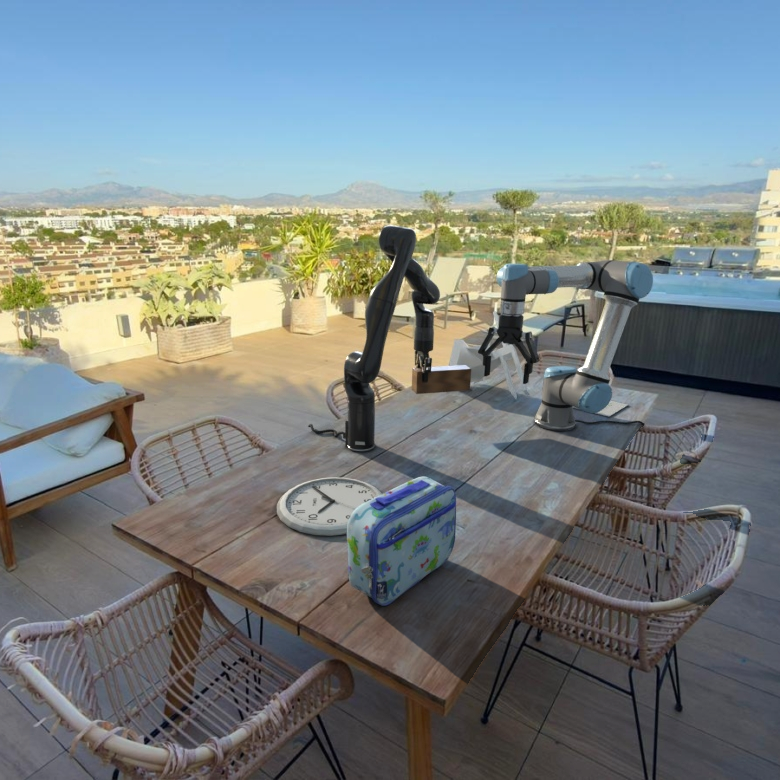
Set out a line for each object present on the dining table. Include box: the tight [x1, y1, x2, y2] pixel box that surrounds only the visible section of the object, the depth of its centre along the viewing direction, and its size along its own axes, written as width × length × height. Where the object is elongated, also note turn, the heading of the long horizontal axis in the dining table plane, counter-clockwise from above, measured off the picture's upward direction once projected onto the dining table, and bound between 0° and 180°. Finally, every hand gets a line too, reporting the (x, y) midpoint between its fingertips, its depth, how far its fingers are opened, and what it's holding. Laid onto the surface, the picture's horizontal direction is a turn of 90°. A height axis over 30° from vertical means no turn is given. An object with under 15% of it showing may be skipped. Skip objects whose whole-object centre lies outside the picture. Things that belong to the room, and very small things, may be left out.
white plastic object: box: [448, 310, 531, 400], centre depth 245 cm, size 37×45×31 cm
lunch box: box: [346, 475, 457, 607], centre depth 111 cm, size 26×11×21 cm, turn 134°
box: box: [411, 365, 472, 395], centre depth 207 cm, size 22×6×9 cm, turn 105°
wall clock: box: [276, 476, 384, 537], centre depth 142 cm, size 30×2×30 cm
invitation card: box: [573, 400, 629, 418], centre depth 226 cm, size 21×1×15 cm
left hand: (422, 379), depth 205 cm, fingers closed on box, 6 cm apart
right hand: (505, 379), depth 170 cm, fingers open, 13 cm apart
